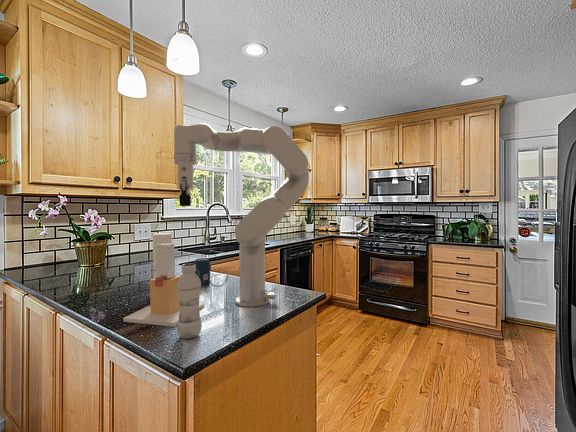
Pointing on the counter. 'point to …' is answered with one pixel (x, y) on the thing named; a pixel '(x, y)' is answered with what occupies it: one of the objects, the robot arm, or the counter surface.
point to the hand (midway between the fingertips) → (185, 206)
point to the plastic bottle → (189, 303)
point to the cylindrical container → (157, 239)
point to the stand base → (160, 304)
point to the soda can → (203, 271)
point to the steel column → (165, 260)
